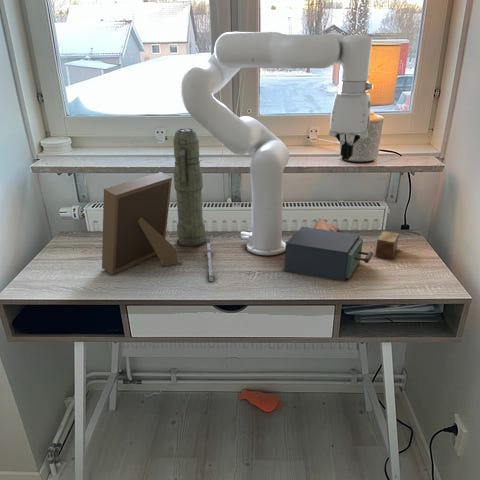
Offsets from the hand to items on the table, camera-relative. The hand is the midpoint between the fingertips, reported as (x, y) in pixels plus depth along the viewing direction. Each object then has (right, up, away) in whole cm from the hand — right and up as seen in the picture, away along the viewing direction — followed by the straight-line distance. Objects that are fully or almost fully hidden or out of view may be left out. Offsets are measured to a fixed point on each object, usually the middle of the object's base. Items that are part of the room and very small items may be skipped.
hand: (346, 158), depth 146 cm
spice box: (+15, -25, +15) cm, 33 cm away
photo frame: (-58, -29, +9) cm, 65 cm away
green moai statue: (-46, -20, +25) cm, 56 cm away
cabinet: (-6, -30, +7) cm, 31 cm away
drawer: (-2, -30, +5) cm, 30 cm away
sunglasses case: (-1, -18, +27) cm, 32 cm away
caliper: (-39, -30, +7) cm, 50 cm away
